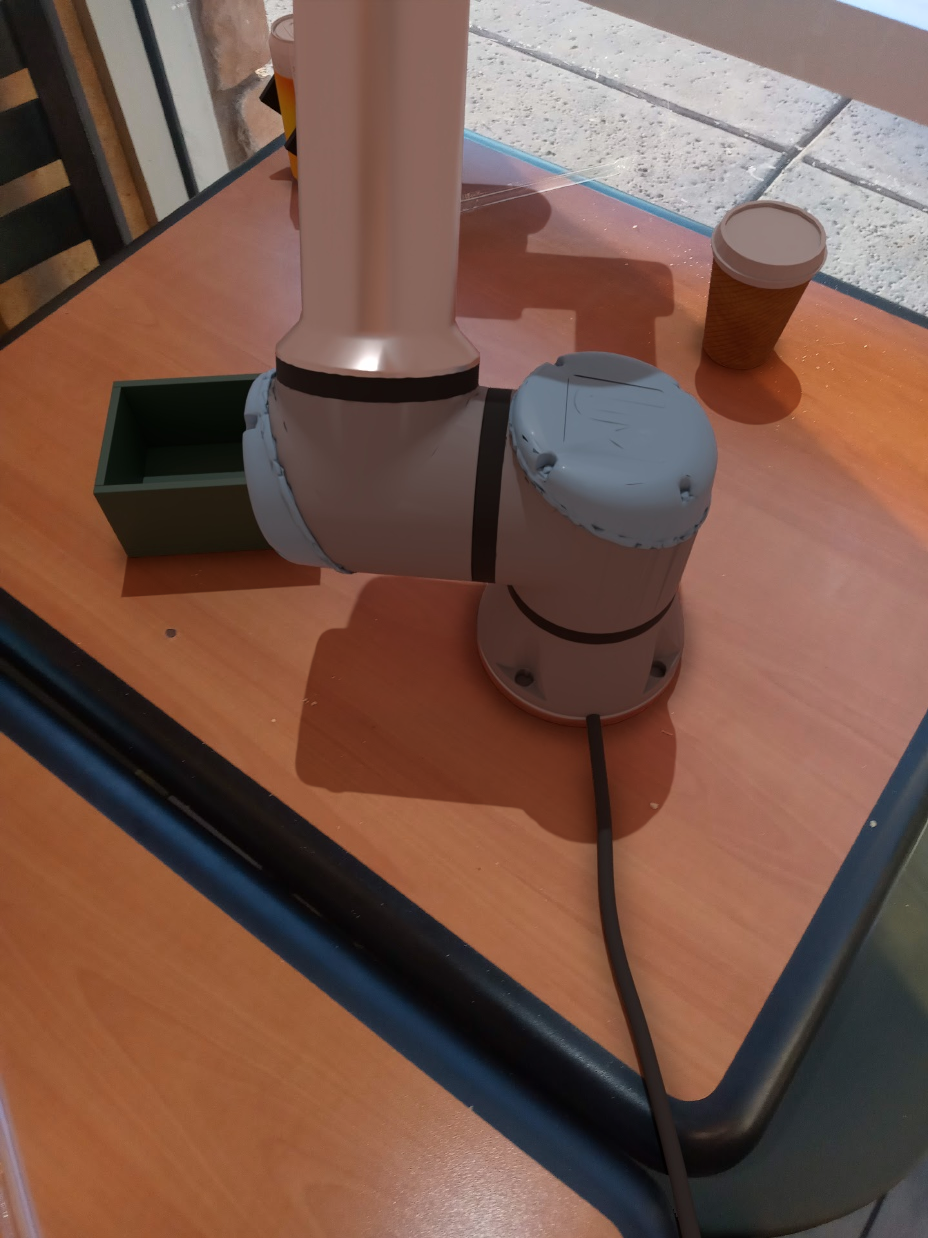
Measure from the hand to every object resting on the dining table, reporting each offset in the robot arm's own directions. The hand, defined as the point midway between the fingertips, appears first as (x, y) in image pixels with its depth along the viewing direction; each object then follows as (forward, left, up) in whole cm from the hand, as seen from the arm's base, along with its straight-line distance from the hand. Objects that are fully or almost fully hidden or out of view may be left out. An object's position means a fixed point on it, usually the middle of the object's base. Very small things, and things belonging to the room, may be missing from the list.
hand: (282, 129), depth 94 cm
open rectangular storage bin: (-43, +4, -6) cm, 44 cm away
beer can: (+1, -3, -6) cm, 7 cm away
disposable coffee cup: (-29, -42, -6) cm, 51 cm away
